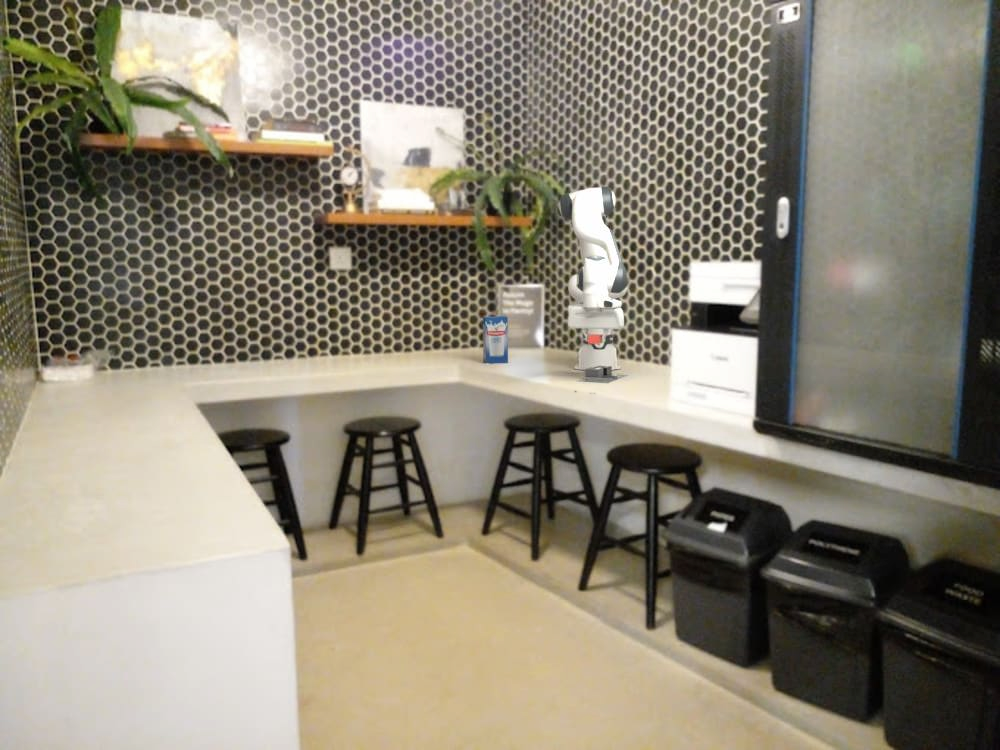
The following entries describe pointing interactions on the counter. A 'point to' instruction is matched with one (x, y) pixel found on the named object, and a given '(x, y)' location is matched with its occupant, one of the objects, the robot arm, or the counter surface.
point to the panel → (606, 378)
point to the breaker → (594, 372)
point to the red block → (594, 338)
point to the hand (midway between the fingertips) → (595, 341)
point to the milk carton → (495, 339)
